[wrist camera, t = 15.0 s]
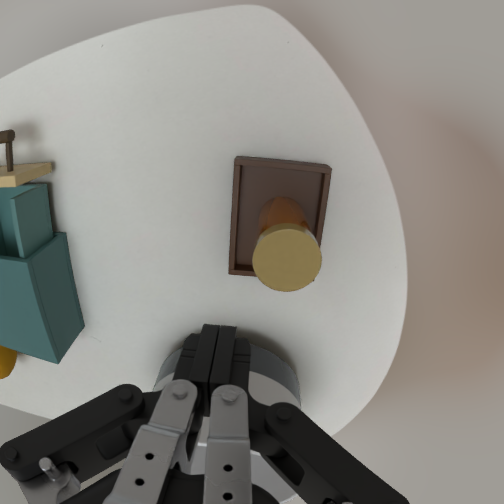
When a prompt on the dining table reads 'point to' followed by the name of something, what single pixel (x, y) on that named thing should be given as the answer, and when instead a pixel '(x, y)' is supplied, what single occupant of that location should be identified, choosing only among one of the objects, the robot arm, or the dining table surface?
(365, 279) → the dining table surface
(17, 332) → the cabinet
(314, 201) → the tray
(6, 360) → the apple
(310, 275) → the honey jar
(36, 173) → the drawer
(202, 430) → the planter
